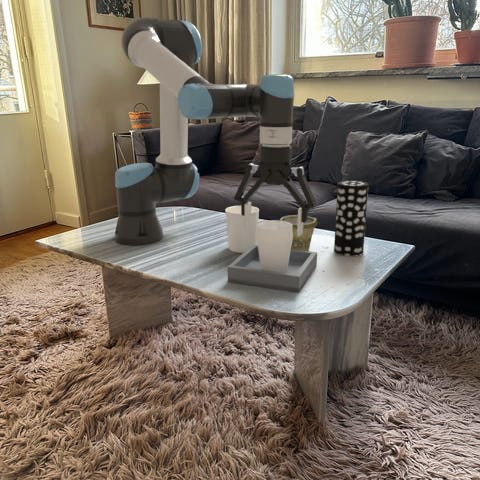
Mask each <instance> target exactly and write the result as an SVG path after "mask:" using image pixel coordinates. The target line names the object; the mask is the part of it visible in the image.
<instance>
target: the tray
mask: <svg viewBox="0 0 480 480" xmlns="http://www.w3.org/2000/svg"><path fill="white" fill-rule="evenodd" d="M317 262H318V251H311V250H309V251H303V250H294V249H291V251H290V257H289V263H288V268H287V271H286V272H285V273H284V272H277V271H269V270H262V269H261V265H260V258H259V251H258V244H257V245H252V246H251V247H250V248H249V249H248V250H246V251H245V252H244V253H241V255H239V256H238V257H237V258H236V259H235V260H234V261H232V262H231V263H230V264H229V265H228V266H227V283H233V284H240V285H246V286H252V287H260V288H267V289H273V290H279V291H285V292H291V293H300V292H301V291H302V289H303V287H304V285H306V283H307V281H308V280H309V278H310V277H311V275H312V274H313V272H314V271H315V270H316V268H317V264H318V263H317Z"/></svg>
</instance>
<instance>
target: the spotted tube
mask: <svg viewBox="0 0 480 480" xmlns="http://www.w3.org/2000/svg"><path fill="white" fill-rule="evenodd" d="M368 196H369V182H365V181H361V180H341V181H338V182H337V191H336V204H335V205H336V207H335V208H336V210H335V223H334V224H335V225H334V226H335V227H334V245H333V252H334V253H335V254H337V255H339V256H344V257H345V256H346V257H357V256H356V255H358V256H361V255H363V254H364V247H365V234H366V220H367V210H368V209H367V208H368ZM362 253H363V254H362ZM360 254H361V255H360Z"/></svg>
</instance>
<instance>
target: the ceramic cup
mask: <svg viewBox="0 0 480 480" xmlns="http://www.w3.org/2000/svg"><path fill="white" fill-rule="evenodd" d="M279 221H285V222H289V223H291V224H292V232H293V239H292V245H291V249H294V250H303V251H310V246H311V243H312V238H313V235H314V234H313V233H314V231H315V228H316V227H317V224H318V219H317V217H312V216H309V215H308V219H307V221H306V222H303V233H302V234H301V236H297V223H298V214H292V215H285V216H281V218H280V219H279Z"/></svg>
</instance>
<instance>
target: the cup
mask: <svg viewBox="0 0 480 480" xmlns="http://www.w3.org/2000/svg"><path fill="white" fill-rule="evenodd" d="M256 237H257V245H258V251H259V258H260V265H261V269H262V270H269V271H277V272H284V273H285V272H286V271H287V268H288V263H289V257H290V251H291V245H292V239H293V232H292V224H291V223H289V222H285V221H280V220H278V219H277V220H274V219H273V220H265V221H259V222H258V224H257V236H256Z"/></svg>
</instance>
